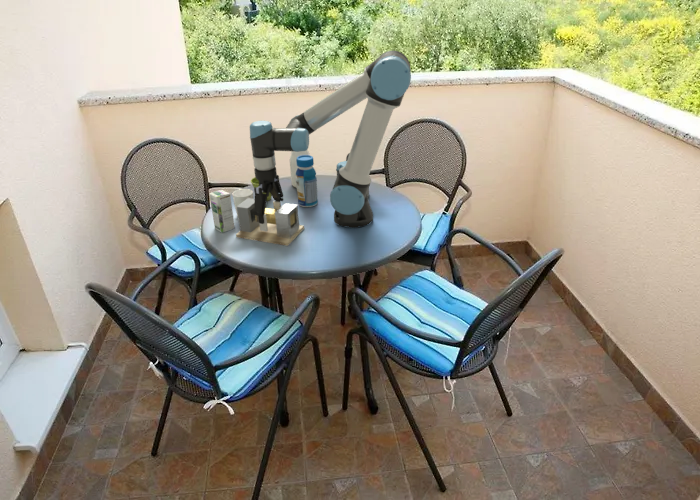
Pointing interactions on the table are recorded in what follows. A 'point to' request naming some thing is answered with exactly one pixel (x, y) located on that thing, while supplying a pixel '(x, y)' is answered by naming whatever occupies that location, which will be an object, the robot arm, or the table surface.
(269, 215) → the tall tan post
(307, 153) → the wine bottle
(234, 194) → the white cup
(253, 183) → the plant pot
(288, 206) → the grey rectangular block
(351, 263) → the table surface
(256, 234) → the board
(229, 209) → the syrup box
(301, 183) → the beverage bottle
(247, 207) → the socket
